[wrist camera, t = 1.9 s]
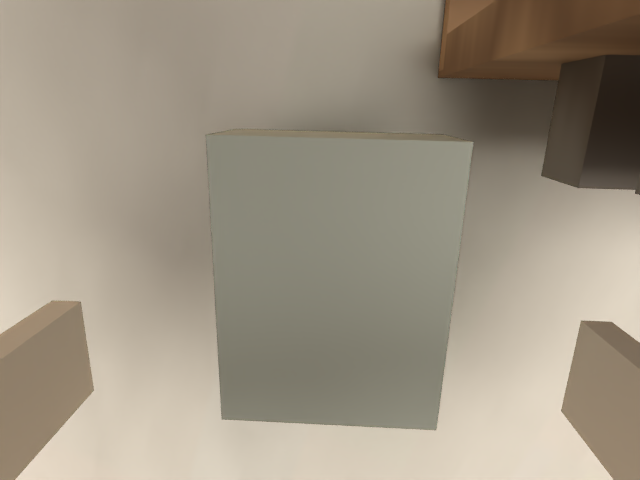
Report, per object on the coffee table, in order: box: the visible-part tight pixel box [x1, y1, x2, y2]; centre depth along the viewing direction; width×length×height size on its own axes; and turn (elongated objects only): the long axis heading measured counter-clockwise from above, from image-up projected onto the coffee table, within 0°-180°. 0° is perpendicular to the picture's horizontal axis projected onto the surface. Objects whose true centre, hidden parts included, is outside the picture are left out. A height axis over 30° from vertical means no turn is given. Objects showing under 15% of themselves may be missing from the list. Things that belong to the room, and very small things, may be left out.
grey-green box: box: [206, 129, 474, 430], centre depth 15 cm, size 9×6×9 cm
